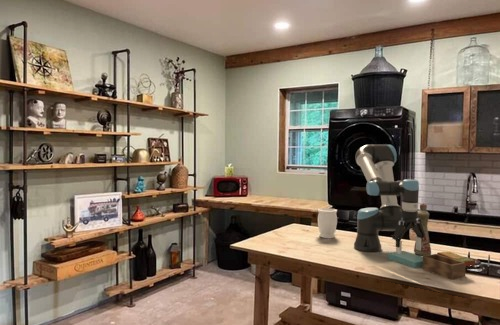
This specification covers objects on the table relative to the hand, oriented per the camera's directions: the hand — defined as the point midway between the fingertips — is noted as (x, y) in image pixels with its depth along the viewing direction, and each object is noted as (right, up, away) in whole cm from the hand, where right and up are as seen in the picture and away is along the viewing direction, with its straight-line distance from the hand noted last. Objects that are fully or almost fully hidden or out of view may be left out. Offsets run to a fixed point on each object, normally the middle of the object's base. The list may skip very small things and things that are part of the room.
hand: (408, 251), depth 183 cm
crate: (+9, -6, -17) cm, 20 cm away
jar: (-30, -4, +55) cm, 62 cm away
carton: (+23, -6, -1) cm, 24 cm away
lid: (0, -6, 0) cm, 6 cm away
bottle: (+15, -5, +16) cm, 22 cm away
